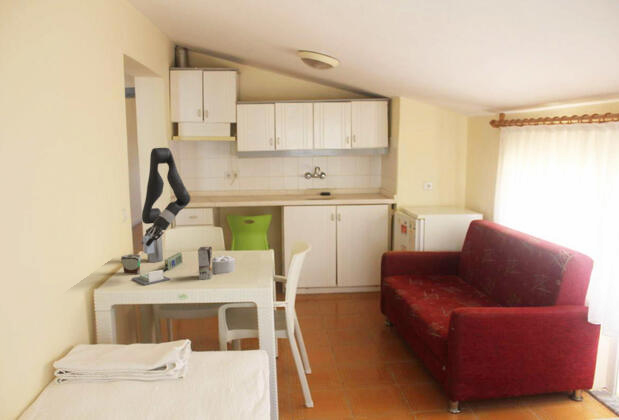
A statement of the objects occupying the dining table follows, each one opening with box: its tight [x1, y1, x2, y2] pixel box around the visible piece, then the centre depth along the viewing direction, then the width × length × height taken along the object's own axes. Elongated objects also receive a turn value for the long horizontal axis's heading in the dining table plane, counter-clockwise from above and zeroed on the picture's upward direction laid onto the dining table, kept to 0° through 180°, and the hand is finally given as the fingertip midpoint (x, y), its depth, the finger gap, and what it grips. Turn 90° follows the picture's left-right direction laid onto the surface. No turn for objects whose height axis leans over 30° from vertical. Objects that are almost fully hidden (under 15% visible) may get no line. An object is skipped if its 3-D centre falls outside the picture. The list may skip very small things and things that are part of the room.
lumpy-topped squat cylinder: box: [212, 254, 236, 275], centre depth 276 cm, size 10×13×9 cm
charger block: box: [142, 235, 154, 254], centre depth 259 cm, size 4×4×9 cm
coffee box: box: [197, 246, 214, 280], centre depth 264 cm, size 9×6×16 cm
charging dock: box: [131, 269, 171, 286], centre depth 261 cm, size 16×14×6 cm
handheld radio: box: [162, 252, 184, 273], centre depth 288 cm, size 7×3×25 cm
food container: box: [120, 254, 142, 275], centre depth 277 cm, size 12×6×10 cm, turn 71°
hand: (145, 244), depth 258 cm, fingers closed on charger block, 4 cm apart
